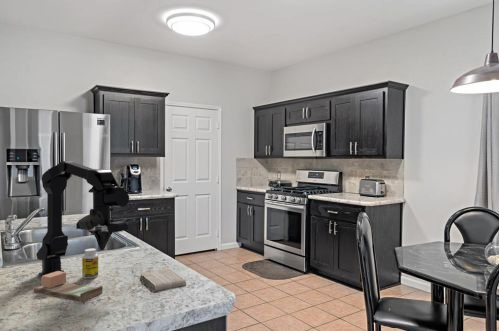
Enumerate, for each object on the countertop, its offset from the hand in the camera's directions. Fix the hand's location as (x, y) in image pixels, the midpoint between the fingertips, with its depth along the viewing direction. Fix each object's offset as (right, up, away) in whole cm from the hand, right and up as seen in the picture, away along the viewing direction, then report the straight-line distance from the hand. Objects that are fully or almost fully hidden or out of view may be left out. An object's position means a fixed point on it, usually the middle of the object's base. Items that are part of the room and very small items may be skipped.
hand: (102, 249), depth 128 cm
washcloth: (+20, -13, +4) cm, 24 cm away
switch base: (-8, -12, -7) cm, 17 cm away
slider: (-14, -11, -5) cm, 18 cm away
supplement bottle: (-8, -12, +9) cm, 17 cm away
